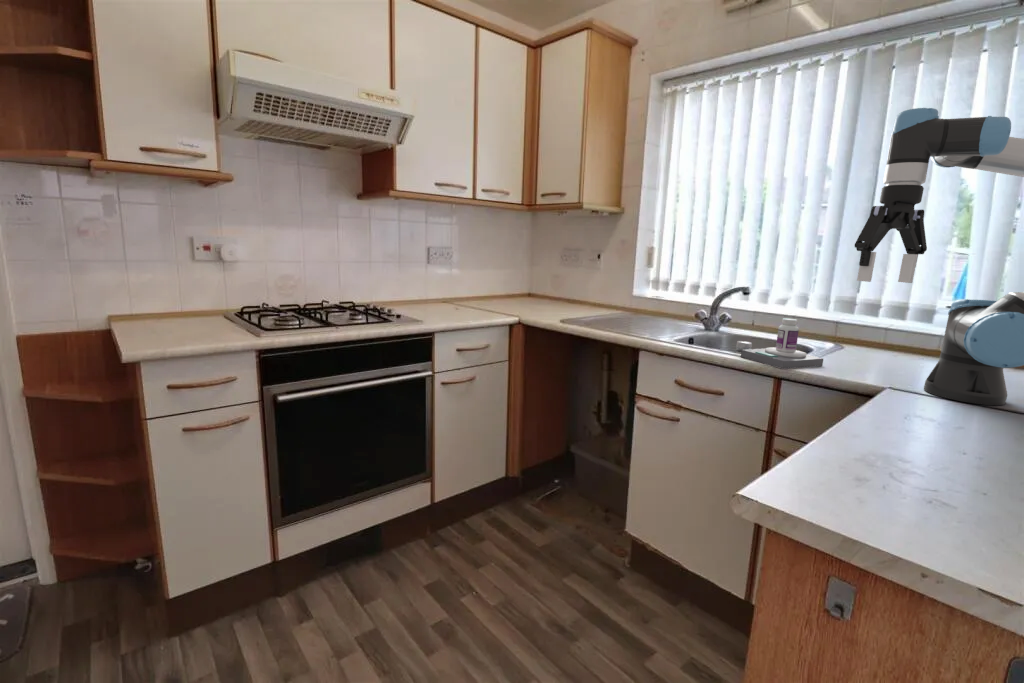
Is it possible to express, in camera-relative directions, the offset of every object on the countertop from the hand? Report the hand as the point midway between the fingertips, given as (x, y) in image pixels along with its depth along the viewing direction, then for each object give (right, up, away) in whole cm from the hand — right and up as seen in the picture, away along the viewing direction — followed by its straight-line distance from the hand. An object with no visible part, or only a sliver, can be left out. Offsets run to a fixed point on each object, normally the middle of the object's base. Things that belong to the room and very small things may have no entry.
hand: (884, 282), depth 119 cm
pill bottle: (-4, -17, +36) cm, 40 cm away
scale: (-5, -19, +36) cm, 41 cm away
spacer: (-11, -17, +49) cm, 53 cm away
